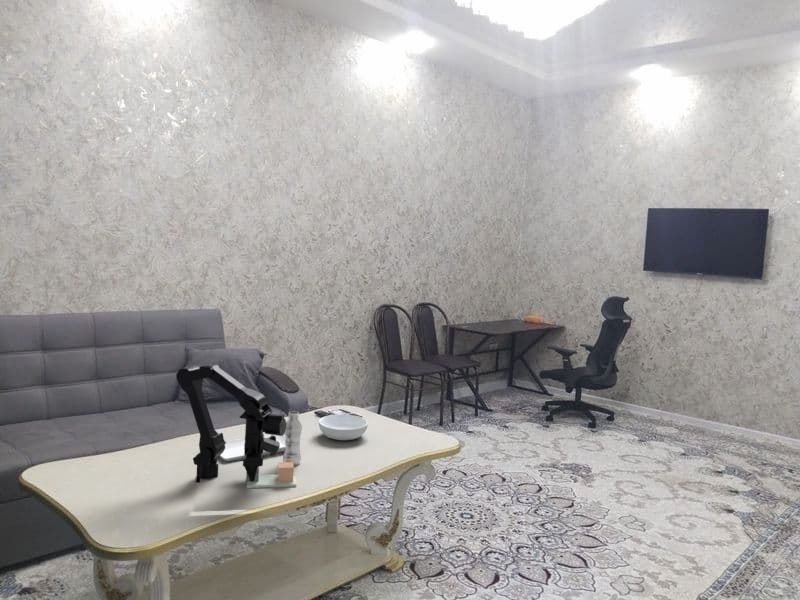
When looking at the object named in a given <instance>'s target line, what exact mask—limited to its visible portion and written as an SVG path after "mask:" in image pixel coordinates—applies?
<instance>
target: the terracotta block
mask: <svg viewBox="0 0 800 600" xmlns="http://www.w3.org/2000/svg"><path fill="white" fill-rule="evenodd" d="M294 468H295V466H293V462H283V461H281V462H280V461H279V462H277V474H278V482H293V474H295V473H294Z"/></svg>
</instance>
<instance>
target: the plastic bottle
mask: <svg viewBox="0 0 800 600" xmlns="http://www.w3.org/2000/svg"><path fill="white" fill-rule="evenodd" d="M299 417H300V413H299V411H295V410H292V411H289V412H288V417H287V418H288V419H287V421H286V423H287V426H286V431H285V433H284V436H285V450H284V451H283V452H284V453H283V456H282V462H293V466H294V467H295V466H299V465H300V464H301V461H302V454H301V446H300V445H301V444H300V443H301V435H302V430H303V426H302V423H301V421H300V420H299Z"/></svg>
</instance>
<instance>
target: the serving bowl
mask: <svg viewBox="0 0 800 600" xmlns="http://www.w3.org/2000/svg"><path fill="white" fill-rule="evenodd" d="M368 425H369V423H368V420H367V419H366V418H363V417H361V416H357V415H354V414H353V415H352V414H351V415H350V414H330V415H326V416H323V417H321V418H320V419H319V420H318V427H319V430H320V432H321V433H322V434H323V435H324V436H325V437H327V438H330V439H332V440H337V441H349V440H350V441H351V440H352V441H353V440H355V439H356V440H357V439H359V438H360V437H362V436H363V435H364V434H365V432H366V431H367V429H368Z"/></svg>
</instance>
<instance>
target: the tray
mask: <svg viewBox="0 0 800 600" xmlns="http://www.w3.org/2000/svg"><path fill="white" fill-rule="evenodd" d="M263 434H264V438H269V437H270V436H271V435H270V434H265V433H263ZM273 436H276V441H278V442H279V443H280V447H279V449H278V452H277V454H279V453H282V452H284V450H285V434H284V435H283V436H278V435H273ZM224 441H225V442H226V444H225V450H224V452H223V453H222V454H221V455H220V457H219V458H221V459H223V461H225V462H227V463H230V462H232V463H233V462H238V461H243V457H244V456H245V455H244V451H245V450H244V444H245V437H242V438H238V439H236V438H235V439H232V440H227V441H226V440H224ZM271 454H272V453H269V452H266V451H264V450H263V453H262V454H261V455H262V456H263V457H264V456H267V455H271ZM272 455H273V454H272Z"/></svg>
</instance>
